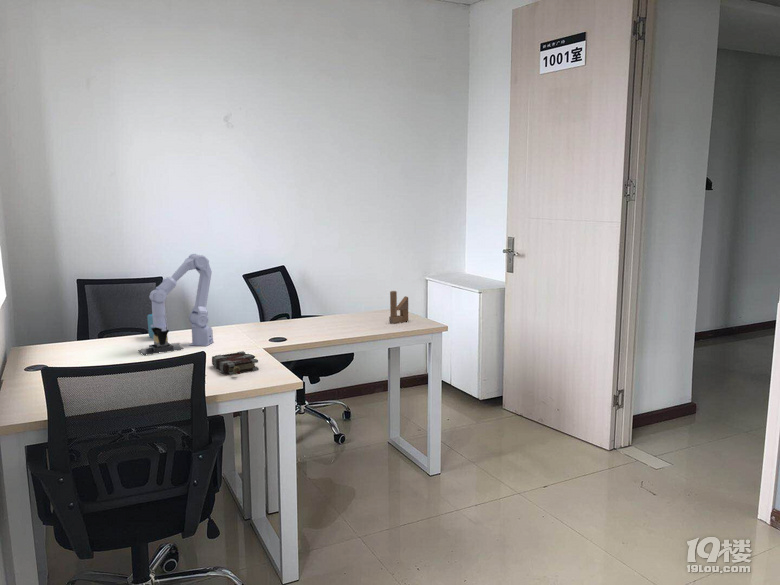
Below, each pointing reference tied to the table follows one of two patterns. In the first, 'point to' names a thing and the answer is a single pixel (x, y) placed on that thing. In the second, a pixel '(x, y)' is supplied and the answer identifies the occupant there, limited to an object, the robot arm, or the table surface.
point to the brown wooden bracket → (398, 308)
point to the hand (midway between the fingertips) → (160, 343)
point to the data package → (150, 322)
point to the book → (234, 363)
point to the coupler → (157, 343)
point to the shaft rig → (152, 349)
